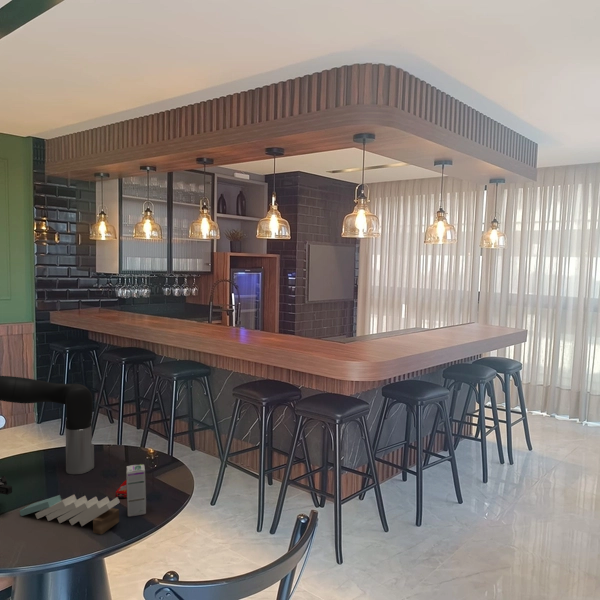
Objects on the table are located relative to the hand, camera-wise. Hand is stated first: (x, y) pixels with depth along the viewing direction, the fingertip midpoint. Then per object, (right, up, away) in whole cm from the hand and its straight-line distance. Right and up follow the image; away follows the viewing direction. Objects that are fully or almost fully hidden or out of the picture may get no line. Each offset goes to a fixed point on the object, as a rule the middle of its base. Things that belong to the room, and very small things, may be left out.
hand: (10, 490), depth 159 cm
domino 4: (+18, -8, -2) cm, 20 cm away
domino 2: (+10, -7, 0) cm, 12 cm away
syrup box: (+39, -8, +4) cm, 40 cm away
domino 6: (+26, -7, -4) cm, 27 cm away
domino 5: (+22, -8, -3) cm, 24 cm away
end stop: (+33, -9, -7) cm, 35 cm away
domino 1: (+4, -7, +2) cm, 8 cm away
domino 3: (+14, -7, -1) cm, 16 cm away
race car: (+31, -8, +19) cm, 37 cm away
